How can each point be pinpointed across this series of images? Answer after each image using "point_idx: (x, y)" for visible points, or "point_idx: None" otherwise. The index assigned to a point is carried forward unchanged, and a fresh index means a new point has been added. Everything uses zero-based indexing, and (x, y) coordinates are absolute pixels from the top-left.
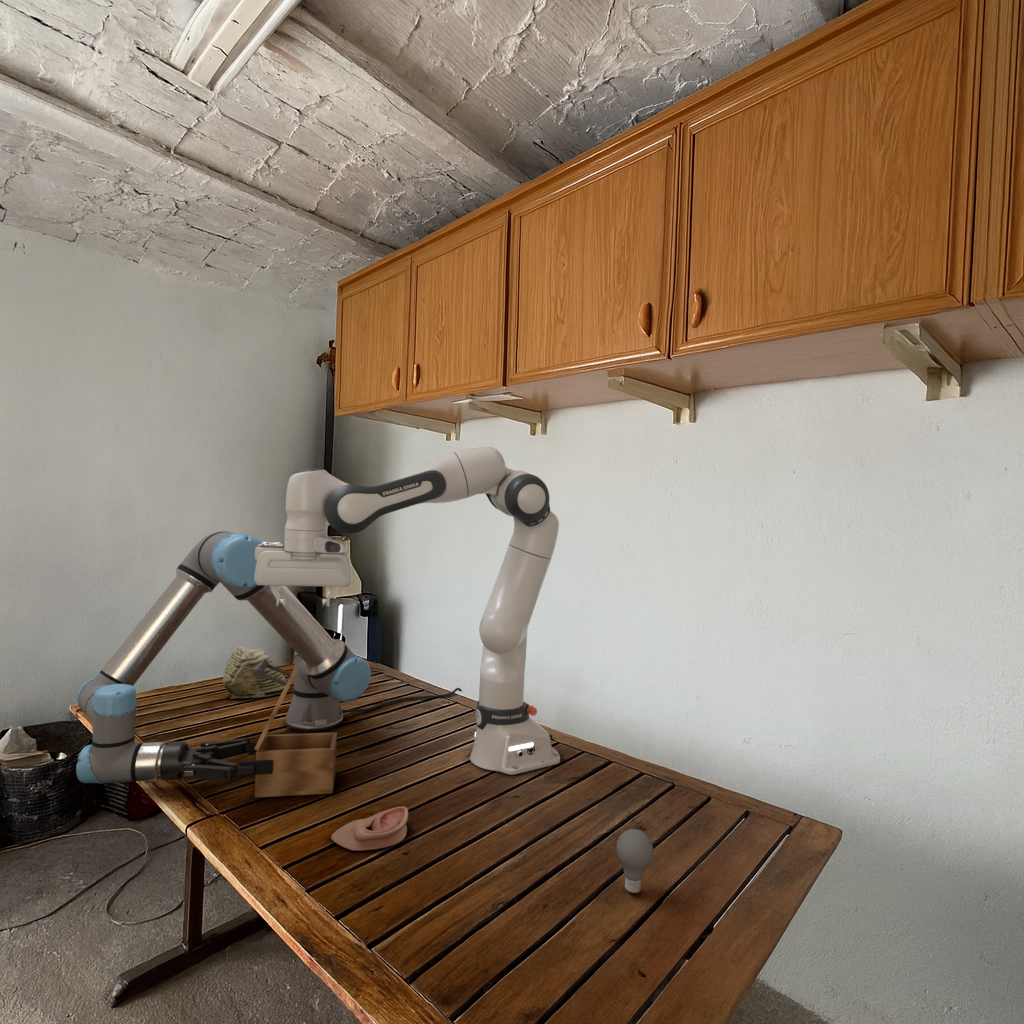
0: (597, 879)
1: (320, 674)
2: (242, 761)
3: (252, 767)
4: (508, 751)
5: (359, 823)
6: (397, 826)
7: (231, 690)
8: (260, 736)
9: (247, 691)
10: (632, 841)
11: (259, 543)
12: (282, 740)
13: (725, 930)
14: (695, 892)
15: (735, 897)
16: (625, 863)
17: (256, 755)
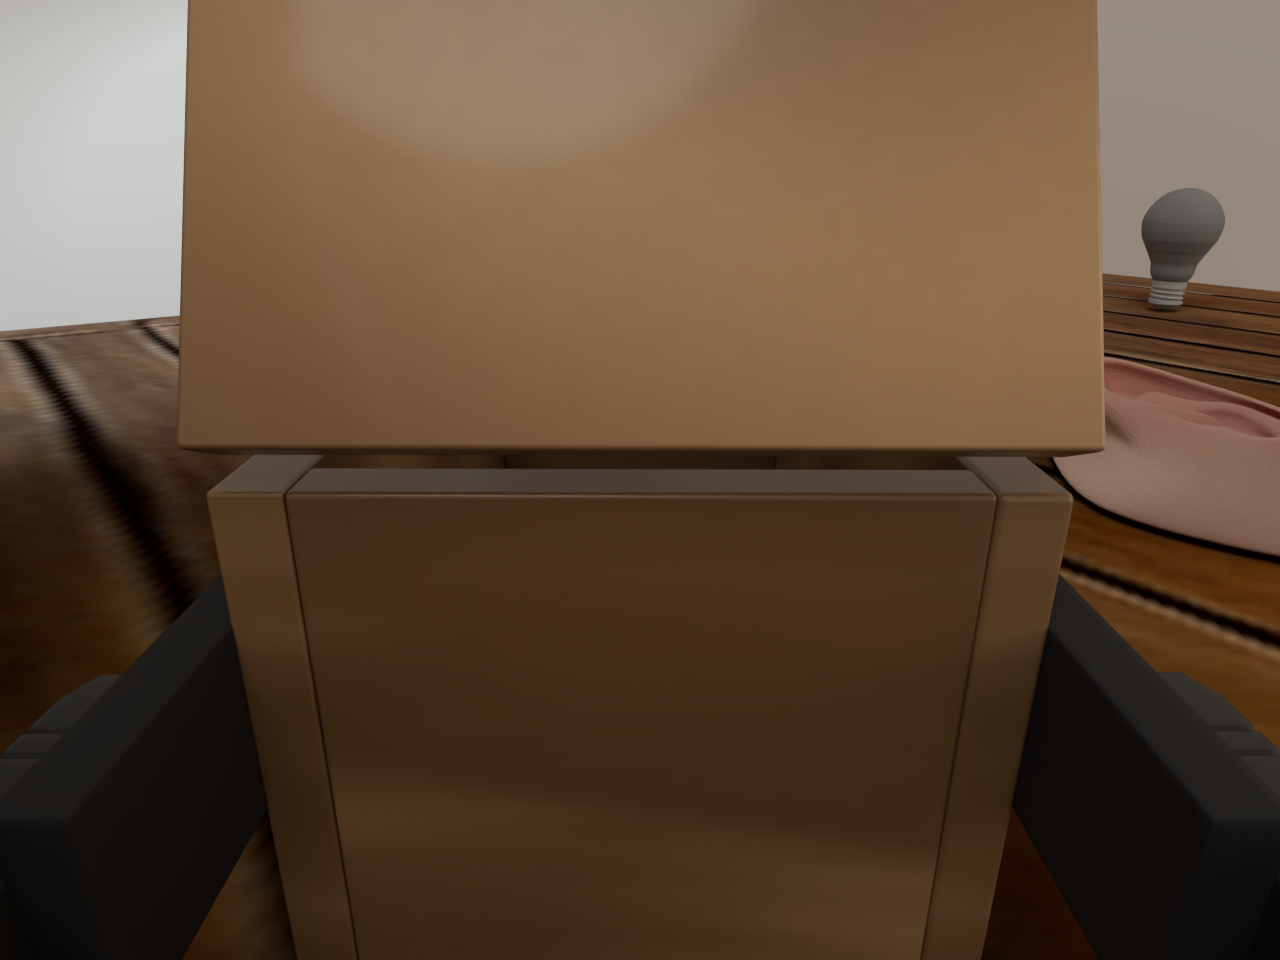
0: (1145, 320)
1: None
2: (1204, 775)
3: (1201, 694)
4: None
5: (1273, 440)
6: (1219, 388)
7: None
8: (1095, 181)
9: None
10: (1215, 198)
11: None
12: (388, 461)
13: (1214, 292)
14: (1118, 292)
15: (1109, 283)
16: (1212, 244)
17: (1060, 546)
